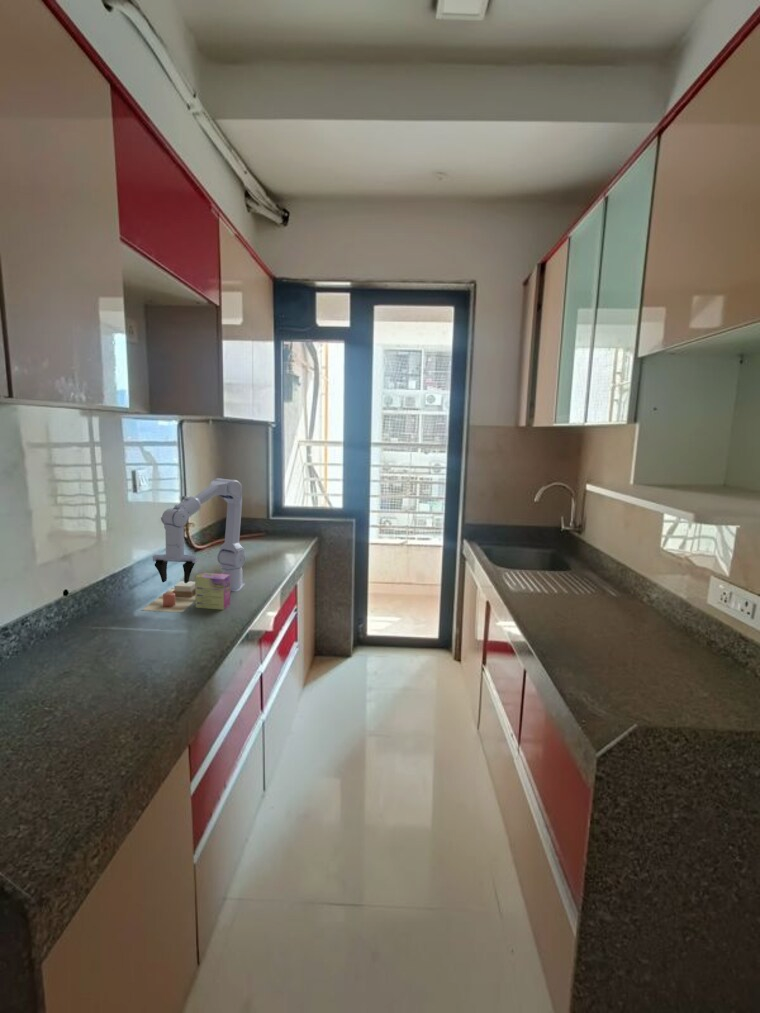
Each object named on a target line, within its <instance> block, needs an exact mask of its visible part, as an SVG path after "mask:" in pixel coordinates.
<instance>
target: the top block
mask: <svg viewBox="0 0 760 1013" xmlns="http://www.w3.org/2000/svg"><path fill="white" fill-rule="evenodd" d="M173 588H174V590H175V591H184V592H191V591H192V590H194V589H195V581H191V580H189V582H188V583H184V580H181V581H179V582H178V583H176V584H175V585H174V587H173Z"/></svg>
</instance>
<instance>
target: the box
mask: <svg viewBox="0 0 760 1013" xmlns="http://www.w3.org/2000/svg"><path fill="white" fill-rule="evenodd" d="M194 579H195V580H194V582H195V597H196V599H195V600H196V601H195V608H198V609H200V608H201V609H208V610H209V609H210V610H222V611H223V610H225V609H227V608H228V607H229V606H230V605H231V591H230V575H227V574H222V573H215V572H214V573H213V572H205V571H204V572H201V573H199V574H197V575H196V576H195V578H194Z"/></svg>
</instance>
